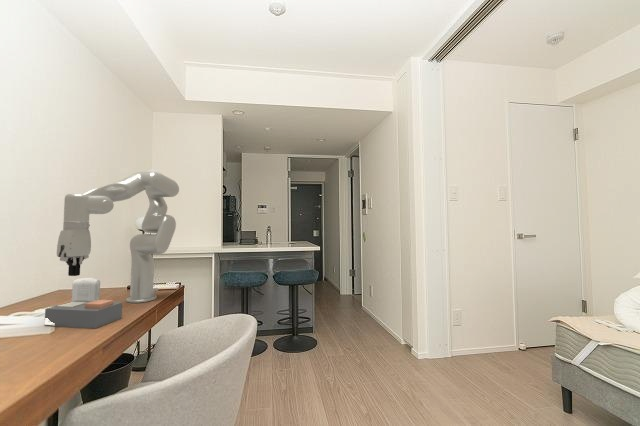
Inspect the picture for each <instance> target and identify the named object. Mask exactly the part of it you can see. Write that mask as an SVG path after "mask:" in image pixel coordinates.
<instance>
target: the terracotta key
mask: <svg viewBox="0 0 640 426" xmlns="http://www.w3.org/2000/svg"><path fill="white" fill-rule="evenodd" d="M113 302H114V300H113V299H99V300H96V301H92V302H89V303H86V304H85V308H93V309H101V308H104V307H107V306H110V305H113Z"/></svg>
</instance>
